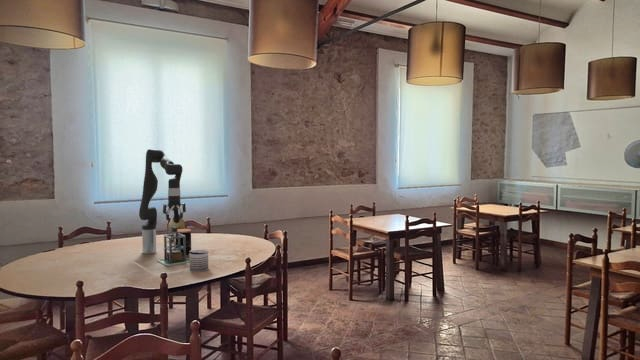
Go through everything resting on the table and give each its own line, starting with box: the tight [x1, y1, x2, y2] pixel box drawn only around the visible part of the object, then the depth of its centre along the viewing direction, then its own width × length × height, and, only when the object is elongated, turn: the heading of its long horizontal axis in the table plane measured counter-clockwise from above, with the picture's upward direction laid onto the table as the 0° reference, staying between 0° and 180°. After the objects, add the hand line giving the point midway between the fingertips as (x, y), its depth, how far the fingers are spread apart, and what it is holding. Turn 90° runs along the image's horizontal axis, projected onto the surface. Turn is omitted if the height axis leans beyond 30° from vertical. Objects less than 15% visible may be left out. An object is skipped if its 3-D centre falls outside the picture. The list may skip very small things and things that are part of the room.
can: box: [188, 249, 209, 273], centre depth 270 cm, size 11×11×12 cm
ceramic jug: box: [167, 210, 188, 242], centre depth 355 cm, size 17×15×30 cm
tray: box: [156, 256, 190, 267], centre depth 285 cm, size 16×18×2 cm
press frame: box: [163, 233, 187, 264], centre depth 284 cm, size 11×11×17 cm
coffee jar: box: [176, 228, 192, 257], centre depth 304 cm, size 11×11×18 cm
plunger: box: [172, 227, 180, 253], centre depth 284 cm, size 7×7×16 cm
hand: (174, 219), depth 283 cm, fingers open, 8 cm apart
